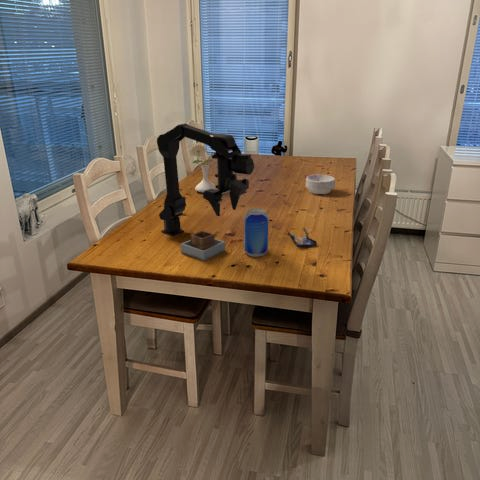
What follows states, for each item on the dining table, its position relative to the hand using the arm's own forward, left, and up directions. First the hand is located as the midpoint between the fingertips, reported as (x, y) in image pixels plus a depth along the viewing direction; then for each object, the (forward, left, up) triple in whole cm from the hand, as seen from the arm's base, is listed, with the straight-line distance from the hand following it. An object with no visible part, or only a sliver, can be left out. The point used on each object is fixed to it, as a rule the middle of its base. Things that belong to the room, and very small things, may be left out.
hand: (226, 212), depth 161 cm
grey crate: (-2, -11, -12) cm, 17 cm away
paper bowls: (-7, +84, -13) cm, 85 cm away
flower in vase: (-57, +48, -13) cm, 76 cm away
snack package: (+22, +18, -13) cm, 31 cm away
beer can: (+14, 0, -13) cm, 19 cm away
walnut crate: (-2, -11, -12) cm, 16 cm away
